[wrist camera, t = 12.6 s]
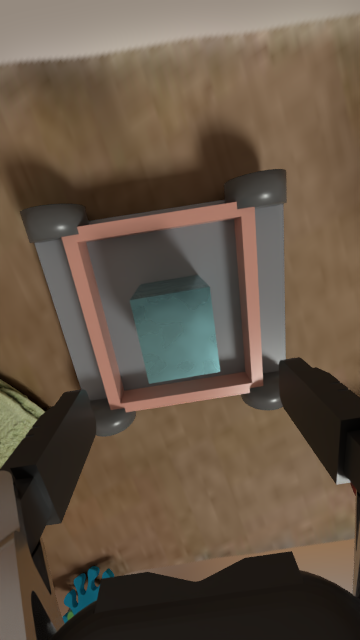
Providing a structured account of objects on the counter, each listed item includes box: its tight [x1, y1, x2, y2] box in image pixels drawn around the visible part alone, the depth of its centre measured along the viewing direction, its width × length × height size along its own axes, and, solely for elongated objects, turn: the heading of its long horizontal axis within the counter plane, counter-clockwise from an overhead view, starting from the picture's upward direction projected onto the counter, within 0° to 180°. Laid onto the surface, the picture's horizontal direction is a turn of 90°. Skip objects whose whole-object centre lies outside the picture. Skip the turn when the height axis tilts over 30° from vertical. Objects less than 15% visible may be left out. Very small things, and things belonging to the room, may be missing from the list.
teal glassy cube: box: [130, 275, 220, 384], centre depth 19 cm, size 5×6×6 cm
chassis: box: [20, 169, 287, 436], centre depth 21 cm, size 20×19×4 cm
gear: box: [63, 566, 114, 623], centre depth 33 cm, size 11×6×10 cm
